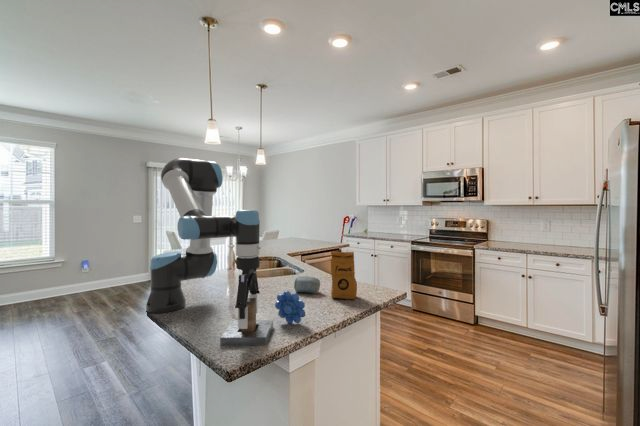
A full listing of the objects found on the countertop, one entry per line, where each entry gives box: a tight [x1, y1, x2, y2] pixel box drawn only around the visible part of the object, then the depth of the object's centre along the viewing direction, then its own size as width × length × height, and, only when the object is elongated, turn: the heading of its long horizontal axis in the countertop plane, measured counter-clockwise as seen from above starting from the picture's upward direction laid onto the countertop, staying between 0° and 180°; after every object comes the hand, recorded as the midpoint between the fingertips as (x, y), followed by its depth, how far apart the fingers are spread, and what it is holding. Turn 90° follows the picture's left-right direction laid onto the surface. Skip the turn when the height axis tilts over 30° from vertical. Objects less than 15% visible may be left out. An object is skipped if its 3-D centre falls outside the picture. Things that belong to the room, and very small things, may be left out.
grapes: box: [274, 290, 306, 324], centre depth 106 cm, size 12×7×12 cm, turn 79°
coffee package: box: [330, 251, 358, 300], centre depth 138 cm, size 10×12×22 cm
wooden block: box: [241, 297, 257, 332], centre depth 97 cm, size 4×4×12 cm
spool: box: [293, 275, 321, 295], centre depth 147 cm, size 14×10×10 cm
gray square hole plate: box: [219, 319, 274, 347], centre depth 97 cm, size 14×14×2 cm
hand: (248, 320), depth 97 cm, fingers open, 13 cm apart
